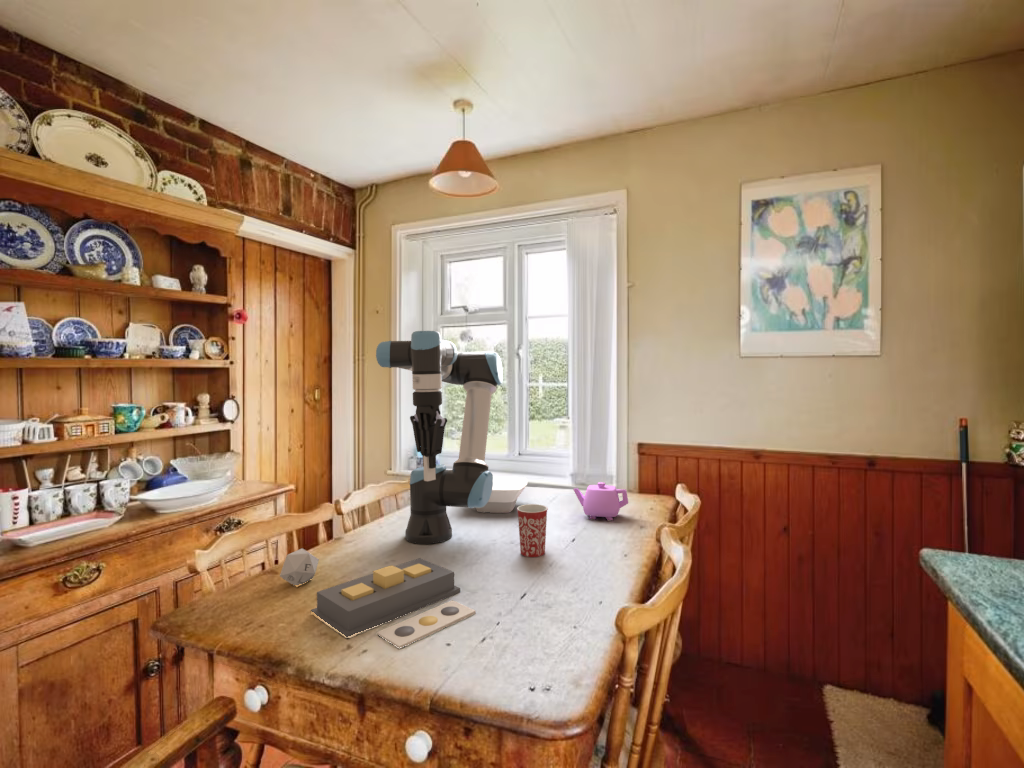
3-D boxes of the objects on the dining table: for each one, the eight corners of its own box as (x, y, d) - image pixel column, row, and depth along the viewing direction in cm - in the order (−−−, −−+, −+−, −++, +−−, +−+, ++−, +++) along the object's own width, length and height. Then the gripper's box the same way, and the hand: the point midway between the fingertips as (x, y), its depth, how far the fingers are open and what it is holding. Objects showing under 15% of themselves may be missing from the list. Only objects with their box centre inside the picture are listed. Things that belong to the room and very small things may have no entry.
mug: (539, 560, 145) (539, 513, 144) (512, 555, 149) (511, 509, 149) (558, 547, 155) (557, 503, 155) (531, 542, 160) (531, 500, 160)
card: (376, 635, 104) (376, 631, 104) (452, 602, 118) (452, 599, 118) (399, 649, 98) (399, 645, 98) (475, 613, 113) (475, 610, 113)
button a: (341, 607, 113) (341, 589, 113) (362, 600, 116) (361, 582, 116) (353, 614, 109) (352, 596, 109) (373, 606, 113) (373, 588, 113)
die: (275, 594, 126) (293, 565, 124) (273, 566, 133) (291, 538, 130) (308, 596, 131) (326, 569, 129) (304, 569, 138) (322, 542, 136)
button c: (402, 585, 124) (402, 569, 124) (419, 579, 128) (419, 563, 128) (414, 591, 121) (414, 574, 121) (431, 584, 125) (431, 568, 125)
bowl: (471, 500, 216) (471, 476, 216) (530, 501, 212) (530, 477, 212) (457, 515, 192) (457, 488, 192) (523, 517, 188) (523, 490, 188)
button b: (373, 588, 119) (373, 571, 118) (391, 581, 122) (391, 565, 122) (385, 594, 115) (385, 576, 115) (403, 587, 119) (403, 570, 119)
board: (310, 614, 113) (310, 592, 113) (420, 574, 135) (420, 556, 135) (346, 639, 102) (346, 614, 102) (460, 592, 124) (459, 571, 124)
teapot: (629, 513, 192) (628, 480, 192) (627, 523, 180) (627, 487, 180) (576, 510, 197) (575, 478, 197) (571, 519, 185) (571, 485, 185)
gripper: (400, 390, 134) (403, 478, 135) (431, 392, 125) (433, 486, 126) (423, 388, 139) (426, 473, 141) (454, 390, 130) (456, 481, 132)
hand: (429, 479), depth 134 cm, fingers closed
